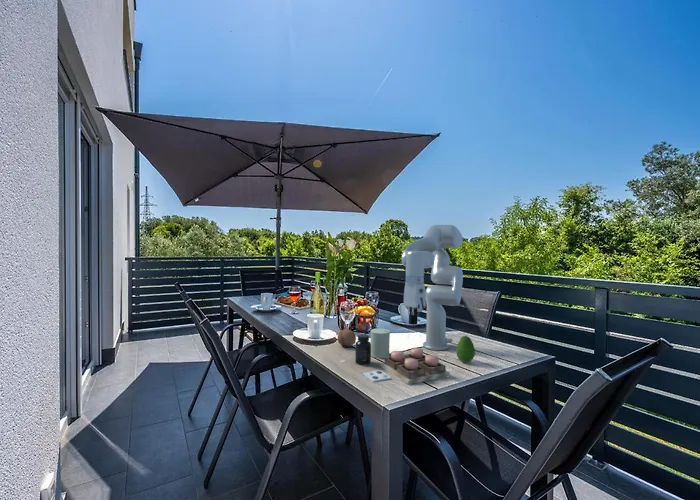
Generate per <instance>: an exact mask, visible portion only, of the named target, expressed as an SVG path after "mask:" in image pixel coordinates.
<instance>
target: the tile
mask: <svg viewBox="0 0 700 500" xmlns="http://www.w3.org/2000/svg"><path fill="white" fill-rule="evenodd" d="M363 376H365V377H366V378H368V379H369V380H370V381H371V382H372V383H376V382H382V381H385V380H391V379H392V377H391V376H390V375H389V374H388V373H385V372H384V371H383V370H381V369H380V370H372V371H367V372H363Z"/></svg>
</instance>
